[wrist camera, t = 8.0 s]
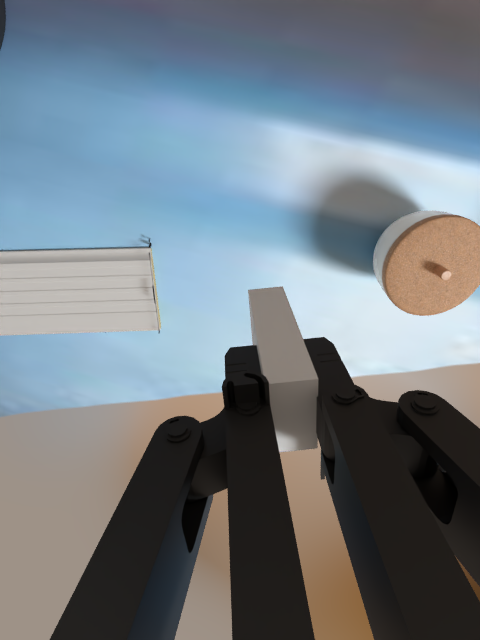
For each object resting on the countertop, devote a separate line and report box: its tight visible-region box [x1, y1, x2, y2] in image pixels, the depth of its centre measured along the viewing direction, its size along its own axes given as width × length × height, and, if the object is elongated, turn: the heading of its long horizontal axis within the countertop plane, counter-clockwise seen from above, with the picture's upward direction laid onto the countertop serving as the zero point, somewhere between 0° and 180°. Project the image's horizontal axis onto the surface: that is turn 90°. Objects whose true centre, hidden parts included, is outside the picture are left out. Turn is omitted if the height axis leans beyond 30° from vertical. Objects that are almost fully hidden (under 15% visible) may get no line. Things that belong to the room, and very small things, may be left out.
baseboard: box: [0, 240, 161, 335], centre depth 44 cm, size 31×3×12 cm
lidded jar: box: [373, 211, 480, 316], centre depth 41 cm, size 11×11×9 cm
